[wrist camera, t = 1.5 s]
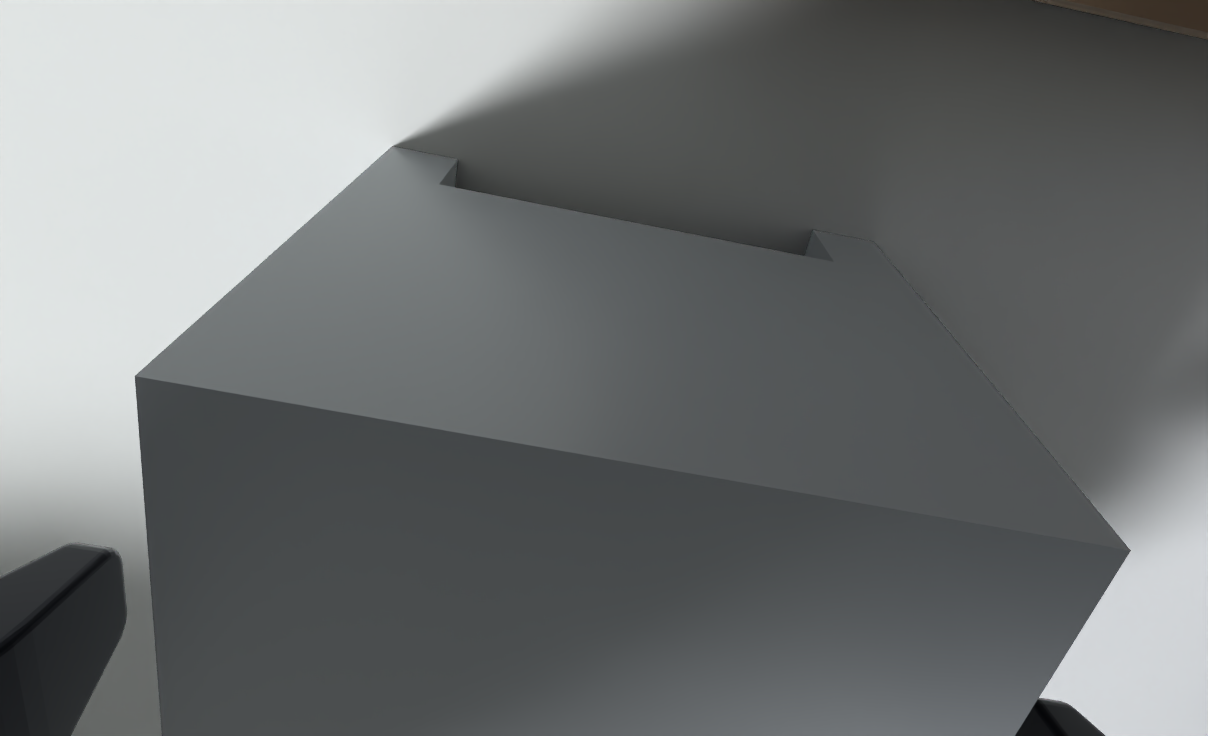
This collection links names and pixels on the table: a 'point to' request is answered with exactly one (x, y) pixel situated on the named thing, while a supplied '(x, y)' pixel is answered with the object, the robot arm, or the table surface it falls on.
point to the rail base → (1148, 13)
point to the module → (593, 489)
